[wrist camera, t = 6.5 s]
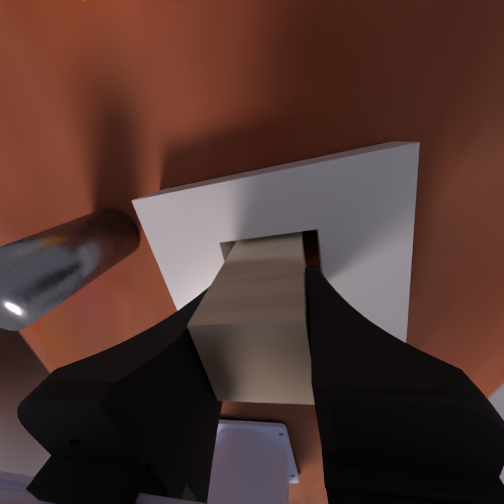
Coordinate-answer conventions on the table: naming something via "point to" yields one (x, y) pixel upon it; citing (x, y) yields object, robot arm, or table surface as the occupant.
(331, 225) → the socket block
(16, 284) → the round peg
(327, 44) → the table surface
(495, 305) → the table surface
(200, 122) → the table surface
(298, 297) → the square peg
